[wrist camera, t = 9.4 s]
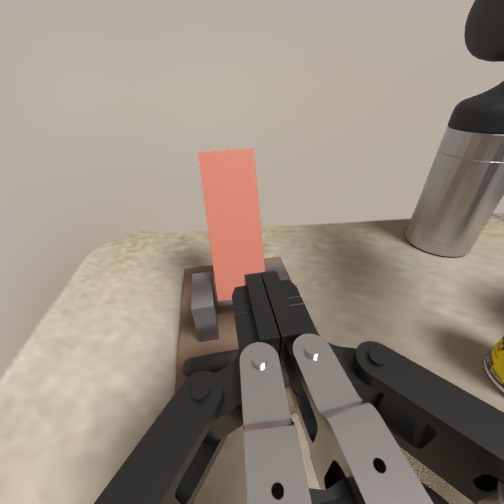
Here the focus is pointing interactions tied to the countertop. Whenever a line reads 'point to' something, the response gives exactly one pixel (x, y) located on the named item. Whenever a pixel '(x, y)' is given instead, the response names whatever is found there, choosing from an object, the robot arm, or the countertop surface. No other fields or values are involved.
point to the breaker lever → (232, 218)
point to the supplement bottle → (496, 364)
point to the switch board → (224, 328)
